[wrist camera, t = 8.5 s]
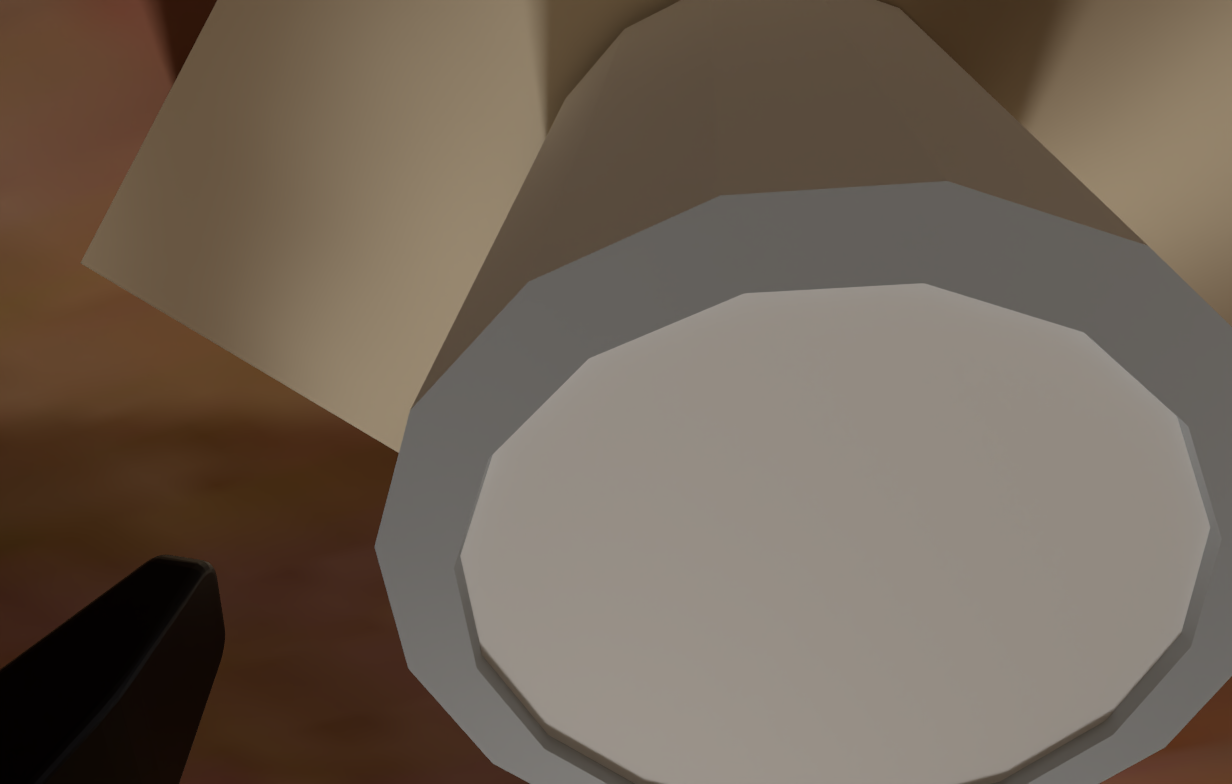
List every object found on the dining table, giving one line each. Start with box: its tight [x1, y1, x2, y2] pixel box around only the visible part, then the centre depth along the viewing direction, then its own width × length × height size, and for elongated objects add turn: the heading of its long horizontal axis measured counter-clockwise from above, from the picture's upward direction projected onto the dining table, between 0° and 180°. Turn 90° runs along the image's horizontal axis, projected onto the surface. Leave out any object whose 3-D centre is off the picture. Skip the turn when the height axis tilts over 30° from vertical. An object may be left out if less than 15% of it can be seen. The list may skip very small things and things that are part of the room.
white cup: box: [375, 0, 1232, 784], centre depth 11 cm, size 7×7×7 cm
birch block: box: [81, 0, 1232, 453], centre depth 16 cm, size 14×14×4 cm
